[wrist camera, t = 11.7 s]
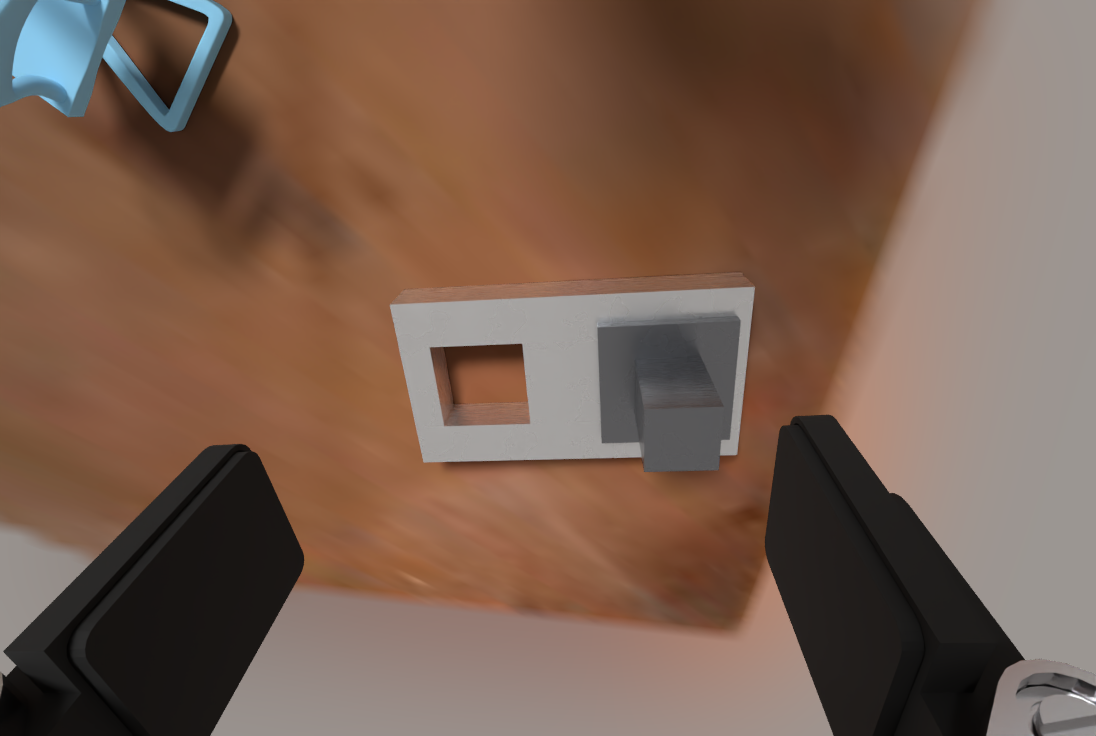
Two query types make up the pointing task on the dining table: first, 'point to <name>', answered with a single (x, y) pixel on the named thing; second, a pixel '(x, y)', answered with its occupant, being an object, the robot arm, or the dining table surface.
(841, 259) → the dining table surface
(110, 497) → the dining table surface
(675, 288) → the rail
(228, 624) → the robot arm
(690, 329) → the flanged block
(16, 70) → the chair
